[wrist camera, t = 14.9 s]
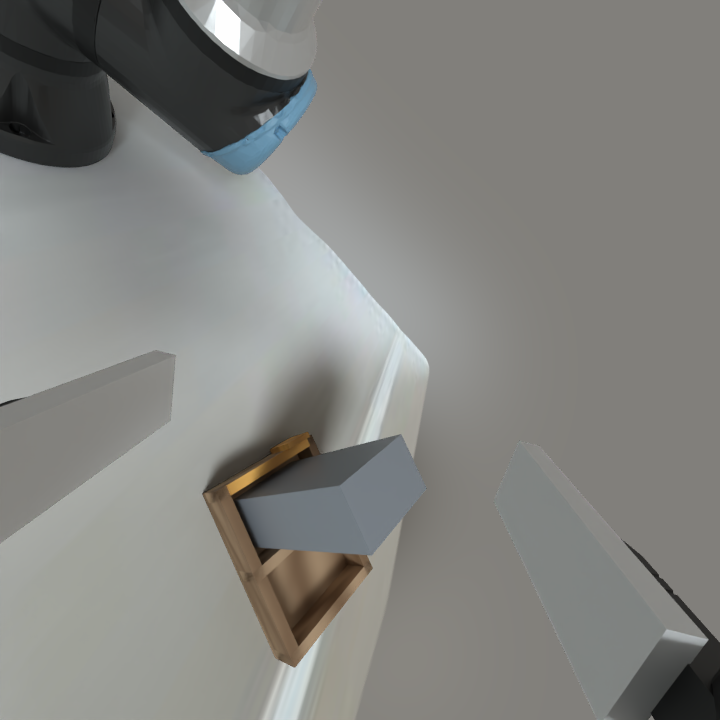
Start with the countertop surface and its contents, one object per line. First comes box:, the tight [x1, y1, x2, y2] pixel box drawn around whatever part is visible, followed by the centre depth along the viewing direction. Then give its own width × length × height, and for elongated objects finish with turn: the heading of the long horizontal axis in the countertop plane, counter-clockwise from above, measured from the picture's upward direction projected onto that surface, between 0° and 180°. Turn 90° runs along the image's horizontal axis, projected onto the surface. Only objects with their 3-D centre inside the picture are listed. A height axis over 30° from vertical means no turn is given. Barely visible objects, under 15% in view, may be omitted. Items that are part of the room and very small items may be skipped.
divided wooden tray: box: [203, 432, 373, 667], centre depth 35 cm, size 12×18×4 cm
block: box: [233, 434, 426, 555], centre depth 30 cm, size 8×5×17 cm, turn 126°
